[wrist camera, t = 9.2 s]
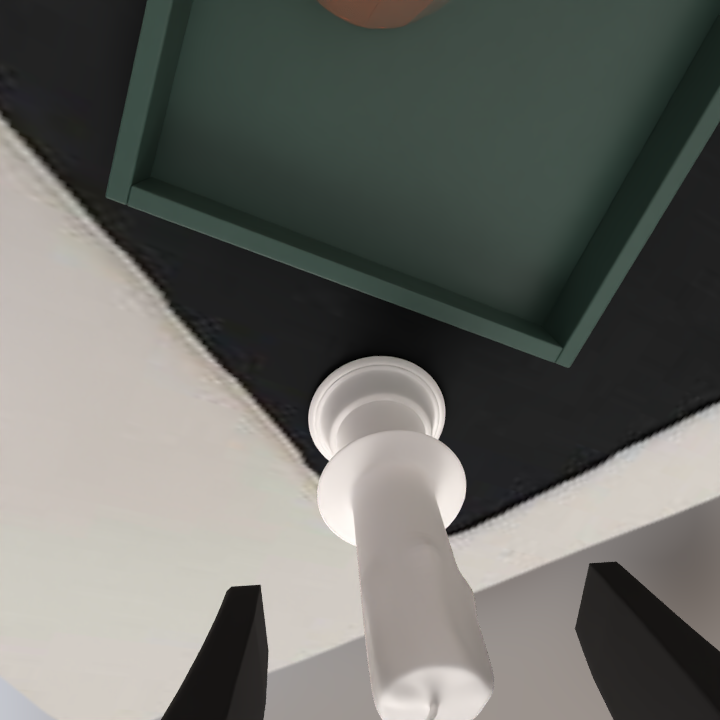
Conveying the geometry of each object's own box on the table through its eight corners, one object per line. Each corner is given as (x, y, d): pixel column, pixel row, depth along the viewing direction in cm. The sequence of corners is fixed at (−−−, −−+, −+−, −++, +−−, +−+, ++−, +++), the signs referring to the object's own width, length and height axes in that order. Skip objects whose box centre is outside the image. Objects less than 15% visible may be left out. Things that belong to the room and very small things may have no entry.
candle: (283, 437, 22) (251, 773, 11) (355, 329, 20) (405, 598, 9) (394, 491, 23) (465, 832, 12) (471, 394, 21) (631, 692, 11)
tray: (131, 185, 17) (104, 197, 15) (268, -408, 12) (257, -523, 10) (542, 340, 21) (570, 368, 18) (780, -76, 16) (859, -106, 13)
